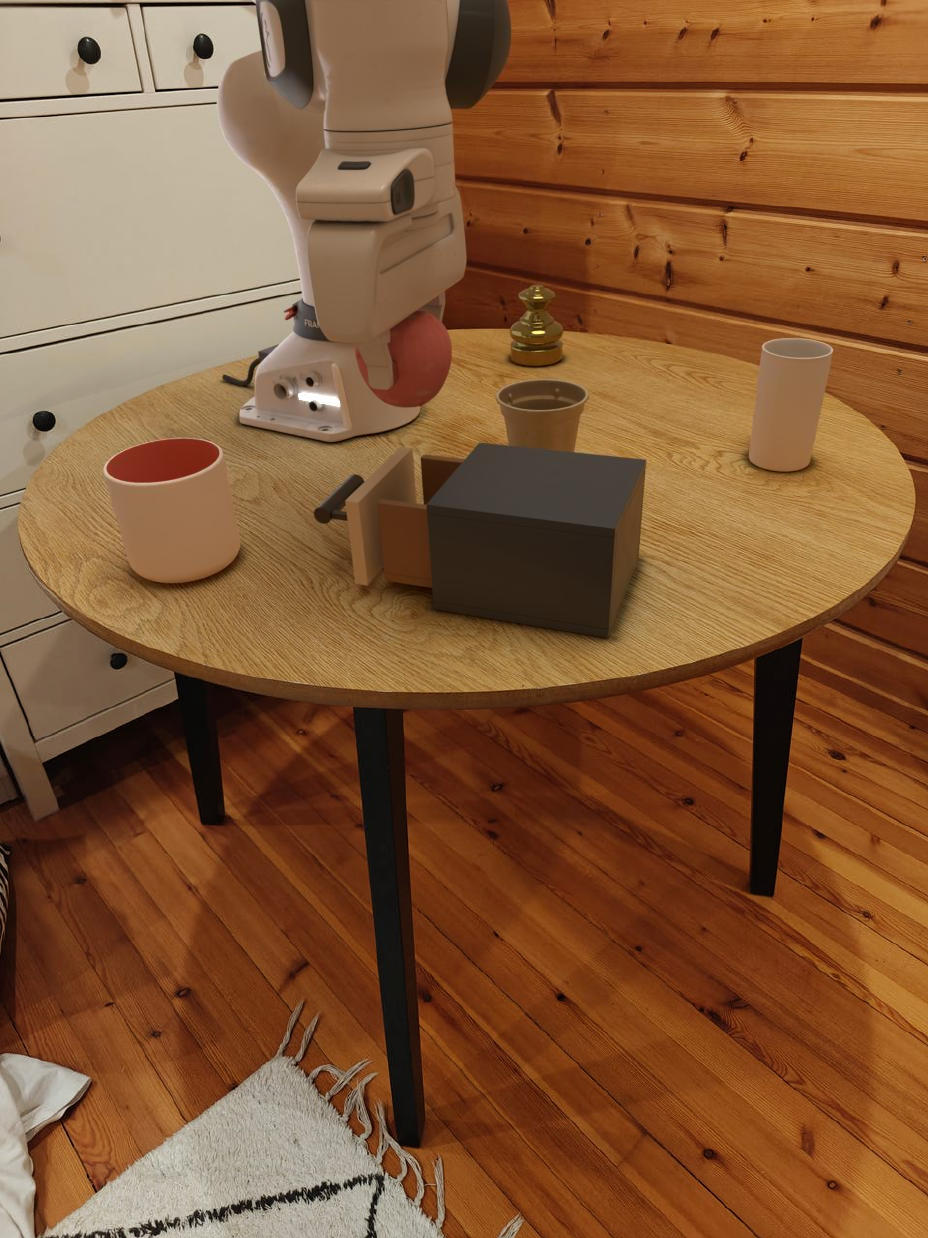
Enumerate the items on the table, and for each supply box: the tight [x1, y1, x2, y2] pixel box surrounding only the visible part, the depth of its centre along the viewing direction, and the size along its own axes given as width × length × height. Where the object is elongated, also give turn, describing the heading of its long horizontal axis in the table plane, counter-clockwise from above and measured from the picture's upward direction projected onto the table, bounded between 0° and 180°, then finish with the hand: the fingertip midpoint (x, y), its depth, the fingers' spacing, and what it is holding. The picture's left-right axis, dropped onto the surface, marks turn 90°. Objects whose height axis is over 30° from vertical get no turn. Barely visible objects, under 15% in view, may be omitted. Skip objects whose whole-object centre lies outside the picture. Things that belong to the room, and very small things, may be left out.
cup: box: [102, 437, 241, 584], centre depth 80 cm, size 10×10×10 cm
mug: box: [748, 337, 834, 473], centre depth 94 cm, size 10×7×12 cm, turn 3°
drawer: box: [313, 446, 466, 589], centre depth 77 cm, size 18×11×8 cm, turn 70°
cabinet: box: [426, 442, 647, 639], centre depth 74 cm, size 15×13×10 cm
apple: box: [355, 310, 453, 408], centre depth 70 cm, size 7×7×8 cm
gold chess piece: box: [509, 284, 564, 367], centre depth 125 cm, size 7×7×10 cm
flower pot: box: [495, 378, 590, 452], centre depth 93 cm, size 9×9×9 cm
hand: (407, 367), depth 71 cm, fingers closed on apple, 7 cm apart
